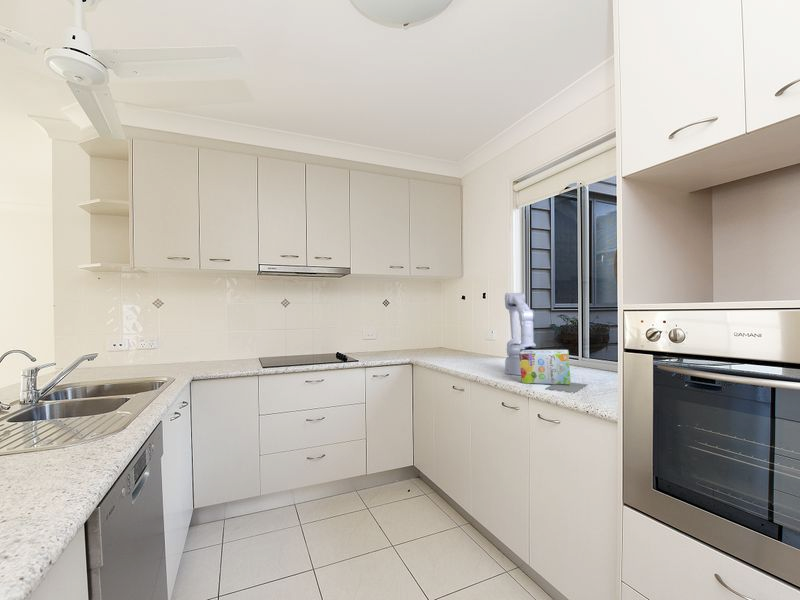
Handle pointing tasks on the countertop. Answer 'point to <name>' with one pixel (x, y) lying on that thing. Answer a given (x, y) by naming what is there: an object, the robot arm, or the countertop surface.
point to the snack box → (545, 366)
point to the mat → (567, 387)
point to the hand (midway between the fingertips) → (527, 363)
